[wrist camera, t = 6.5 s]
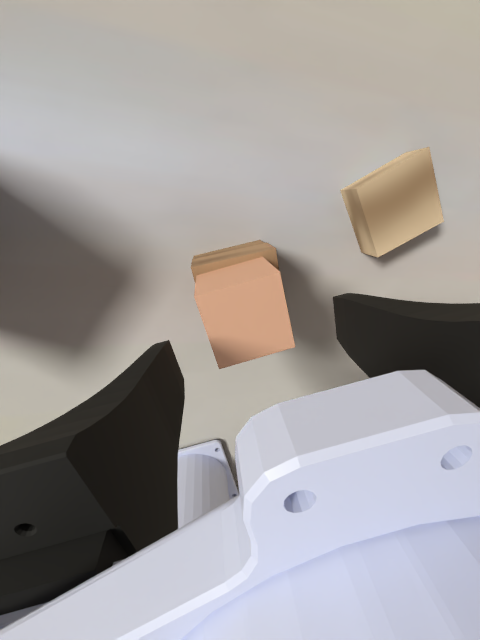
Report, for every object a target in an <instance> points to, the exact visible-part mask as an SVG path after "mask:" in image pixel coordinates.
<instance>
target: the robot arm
mask: <svg viewBox="0 0 480 640" xmlns="http://www.w3.org/2000/svg"><path fill="white" fill-rule="evenodd" d="M333 303H334V313H335V324H336V334H337V339H338V341H339V342H340V344H341V345H342V347H343V348H344V350H345V351H346V353H347V354H348V355H349V356H350V357H351V359H352V360H353V361H354V362H355V363H356V364H357V365H358V366H359V367H360V368H361V369H362V370H363V371H364V372H365V373H366V374H367V375H368V377H369V379H366V380H362V381H358V382H355V383H351V384H347V385H344V386H340V387H336V388H332V389H329V390H325V391H321V392H318V393H314V394H310V395H307V396H303V397H299V398H296V399H292V400H288V401H284V402H281V403H277V404H275V405H273V406H271V407H269V408H267V409H265V410H263V411H262V412H260V413H258V414H256V415H254V416H252V417H251V418H250V419H249V420H248V422H247V423H246V424H245V426H244V427H243V428H242V430H241V431H240V432H239V434H238V435H237V436H236V447H235V461H236V469H237V477H238V485H239V492H238V489H237V486H236V483H235V481H234V478H233V475H232V472H231V469H230V467H229V464H228V461H227V458H226V455H225V452H224V450H223V447H222V444H221V442H220V441H219V440H212V441H209V442H205V443H201V444H198V445H194V446H190V447H187V448H183V449H179V450H178V448H179V439H180V431H181V424H182V416H183V408H184V399H185V395H184V378H183V375H182V373H181V370H180V367H179V365H178V362H177V360H176V357H175V354H174V352H173V349H172V346H171V344H170V341H169V340H168V341H164V342H161V343H157V344H154V345H153V346H151V347H150V348H149V349H148V350H147V351H146V352H144V353H143V354H142V355H141V356H140V357H139V358H138V359H137V360H136V361H135V362H134V363H133V364H132V365H131V366H130V367H128V368H127V369H126V370H125V371H124V372H123V373H121V374H120V375H119V376H118V377H117V378H116V379H115V380H113V381H112V382H111V383H110V384H108V385H107V386H106V387H105V388H103V389H102V390H101V391H99V392H98V393H96V394H95V395H94V396H92V397H91V398H89V399H88V400H86V401H85V402H83V403H81V404H80V405H78V406H77V407H75V408H73V409H72V410H70V411H68V412H67V413H65V414H64V415H62V416H60V417H58V418H57V419H55V420H53V421H51V422H49V423H47V424H45V425H44V426H42V427H40V428H38V429H36V430H34V431H32V432H30V433H28V434H26V435H23V436H21V437H19V438H17V439H15V440H12V441H10V442H8V443H6V444H3V445H1V446H0V640H480V303H473V304H444V303H424V302H413V301H404V300H396V299H389V298H382V297H376V296H369V295H363V294H353V293H347V294H343V295H339V296H335V297H333ZM216 448H218V449H216ZM239 493H240V494H239Z"/></svg>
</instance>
